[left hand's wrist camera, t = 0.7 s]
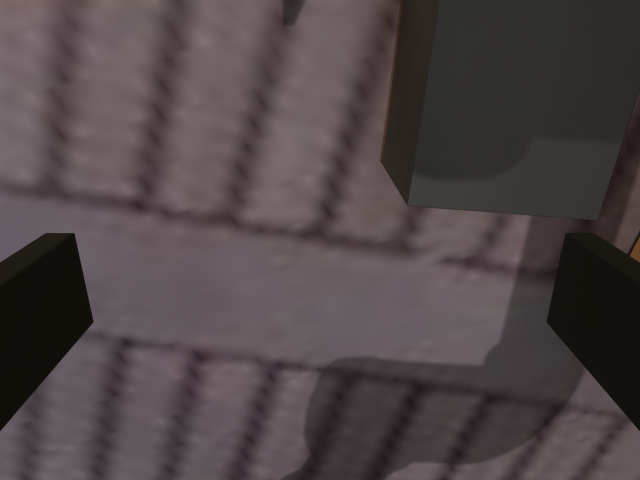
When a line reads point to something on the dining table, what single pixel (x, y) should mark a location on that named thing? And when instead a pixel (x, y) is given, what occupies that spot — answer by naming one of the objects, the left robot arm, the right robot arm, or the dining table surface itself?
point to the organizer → (636, 251)
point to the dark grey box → (511, 103)
